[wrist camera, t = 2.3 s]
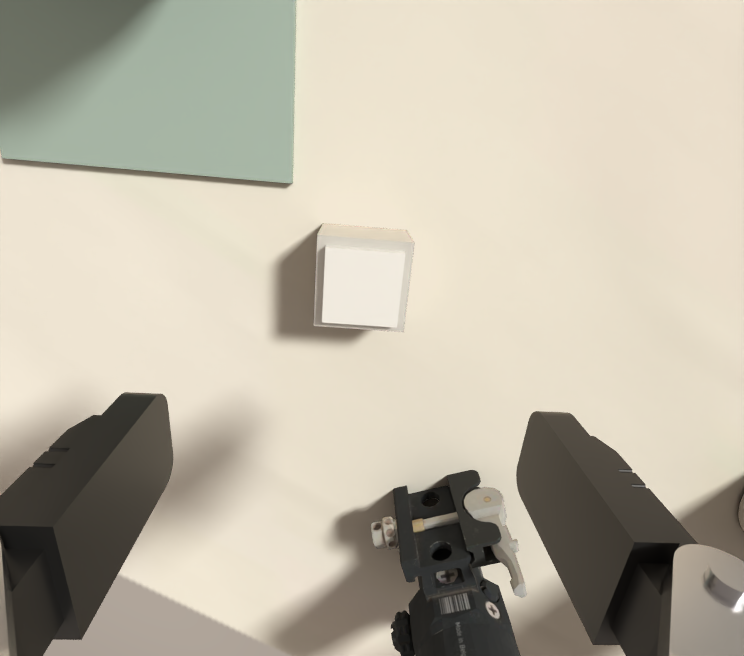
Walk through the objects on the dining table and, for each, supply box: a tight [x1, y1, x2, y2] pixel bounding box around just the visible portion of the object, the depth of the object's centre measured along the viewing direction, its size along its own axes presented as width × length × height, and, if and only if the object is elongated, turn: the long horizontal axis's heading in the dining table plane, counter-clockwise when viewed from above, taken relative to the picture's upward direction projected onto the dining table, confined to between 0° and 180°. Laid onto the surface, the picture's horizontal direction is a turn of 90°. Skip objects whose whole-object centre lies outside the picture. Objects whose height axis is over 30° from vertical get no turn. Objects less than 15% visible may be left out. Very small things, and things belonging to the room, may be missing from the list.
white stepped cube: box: [314, 223, 414, 332], centre depth 21 cm, size 4×4×4 cm
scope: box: [371, 470, 527, 656], centre depth 23 cm, size 8×14×10 cm
